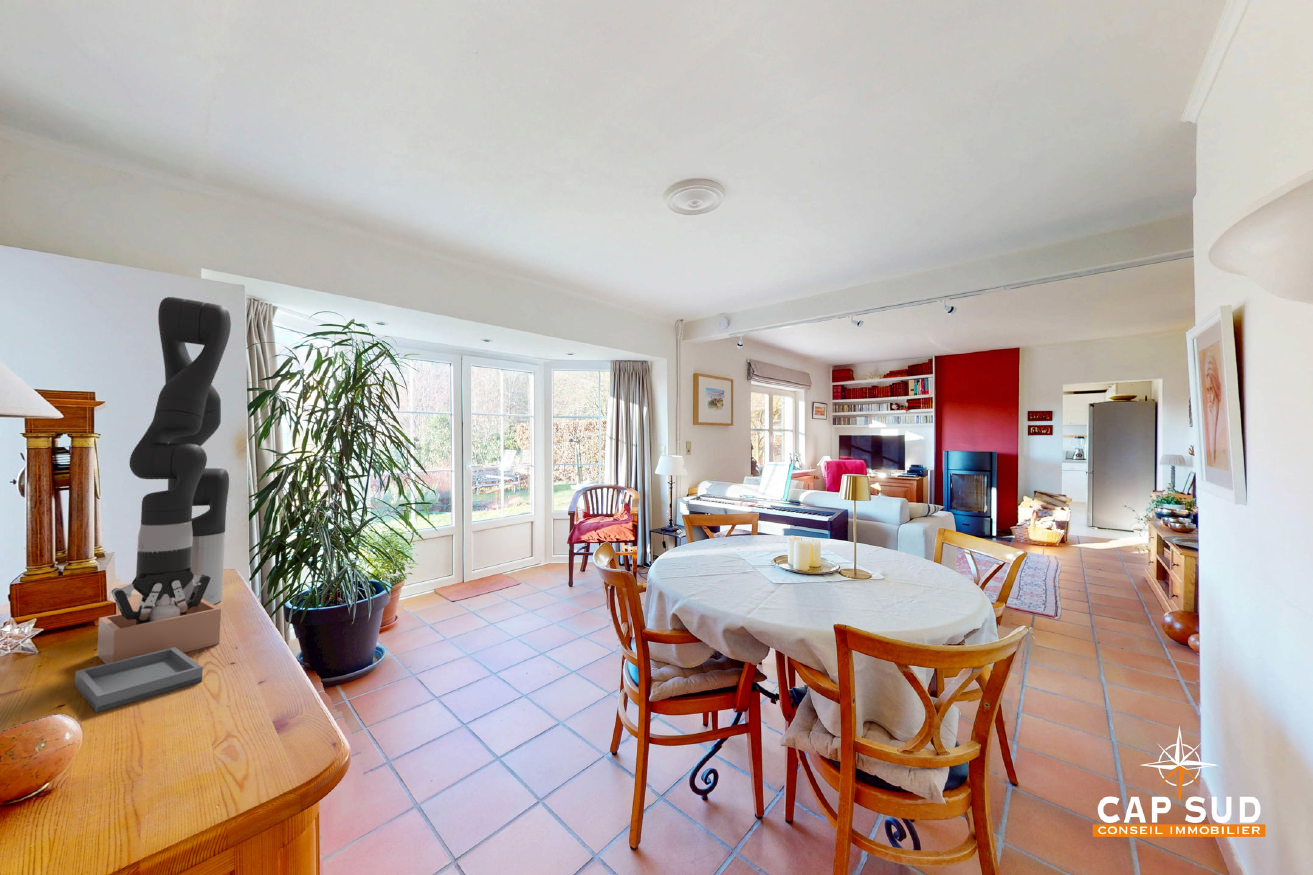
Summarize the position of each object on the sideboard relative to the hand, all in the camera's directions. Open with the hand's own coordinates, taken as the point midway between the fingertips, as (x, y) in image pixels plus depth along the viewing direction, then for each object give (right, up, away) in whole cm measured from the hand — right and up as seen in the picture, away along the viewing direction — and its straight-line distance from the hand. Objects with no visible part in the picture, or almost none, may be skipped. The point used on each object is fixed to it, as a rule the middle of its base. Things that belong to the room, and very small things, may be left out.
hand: (161, 633), depth 95 cm
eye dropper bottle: (0, -3, 0) cm, 3 cm away
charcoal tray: (+10, -3, -13) cm, 16 cm away
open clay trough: (0, -3, 0) cm, 3 cm away
